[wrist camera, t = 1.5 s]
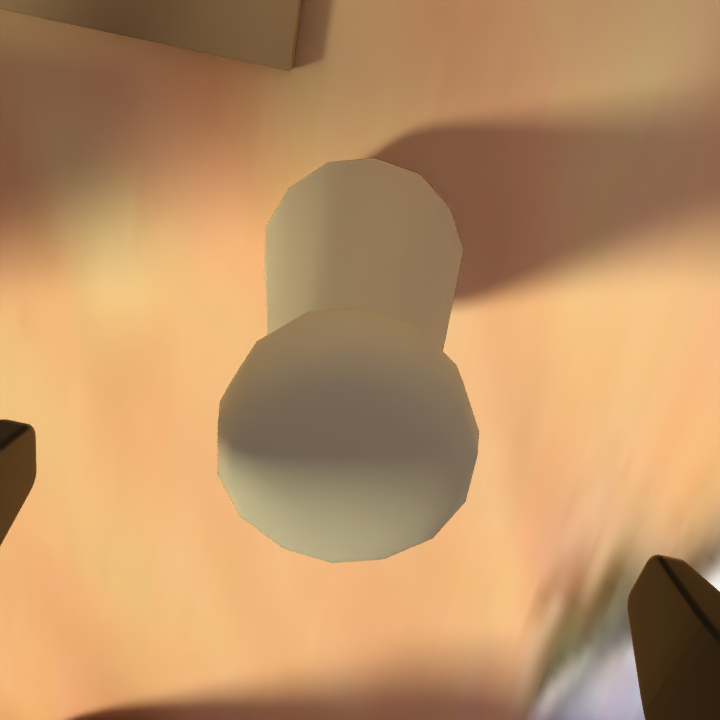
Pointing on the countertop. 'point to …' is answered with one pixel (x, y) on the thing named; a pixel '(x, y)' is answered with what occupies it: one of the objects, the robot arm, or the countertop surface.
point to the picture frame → (187, 24)
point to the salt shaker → (352, 372)
